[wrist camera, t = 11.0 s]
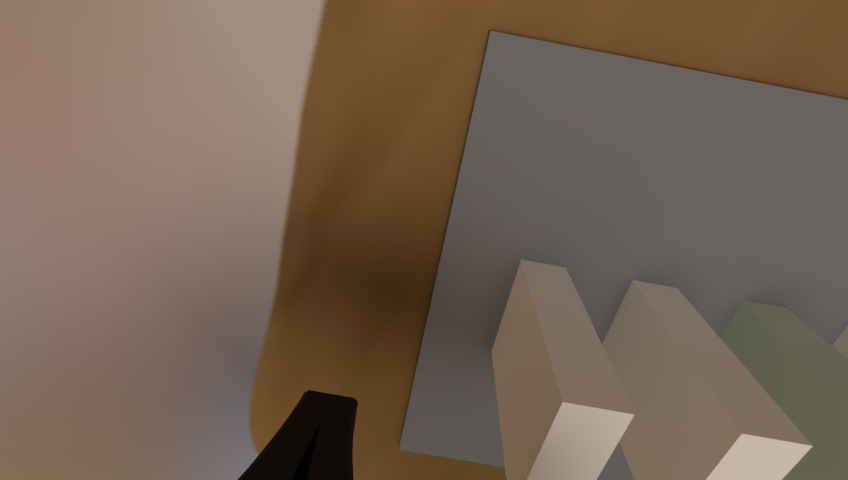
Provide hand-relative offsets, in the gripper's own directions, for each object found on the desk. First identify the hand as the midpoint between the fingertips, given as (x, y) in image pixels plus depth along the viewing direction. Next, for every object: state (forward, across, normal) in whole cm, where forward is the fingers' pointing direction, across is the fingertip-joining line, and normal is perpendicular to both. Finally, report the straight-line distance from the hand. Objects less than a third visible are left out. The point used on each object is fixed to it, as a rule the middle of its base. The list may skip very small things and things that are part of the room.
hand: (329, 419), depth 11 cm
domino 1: (+7, -7, 0) cm, 9 cm away
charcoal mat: (+7, -16, 0) cm, 17 cm away
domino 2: (+7, -11, 0) cm, 13 cm away
